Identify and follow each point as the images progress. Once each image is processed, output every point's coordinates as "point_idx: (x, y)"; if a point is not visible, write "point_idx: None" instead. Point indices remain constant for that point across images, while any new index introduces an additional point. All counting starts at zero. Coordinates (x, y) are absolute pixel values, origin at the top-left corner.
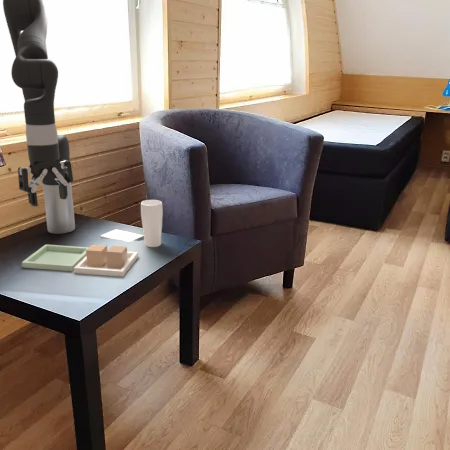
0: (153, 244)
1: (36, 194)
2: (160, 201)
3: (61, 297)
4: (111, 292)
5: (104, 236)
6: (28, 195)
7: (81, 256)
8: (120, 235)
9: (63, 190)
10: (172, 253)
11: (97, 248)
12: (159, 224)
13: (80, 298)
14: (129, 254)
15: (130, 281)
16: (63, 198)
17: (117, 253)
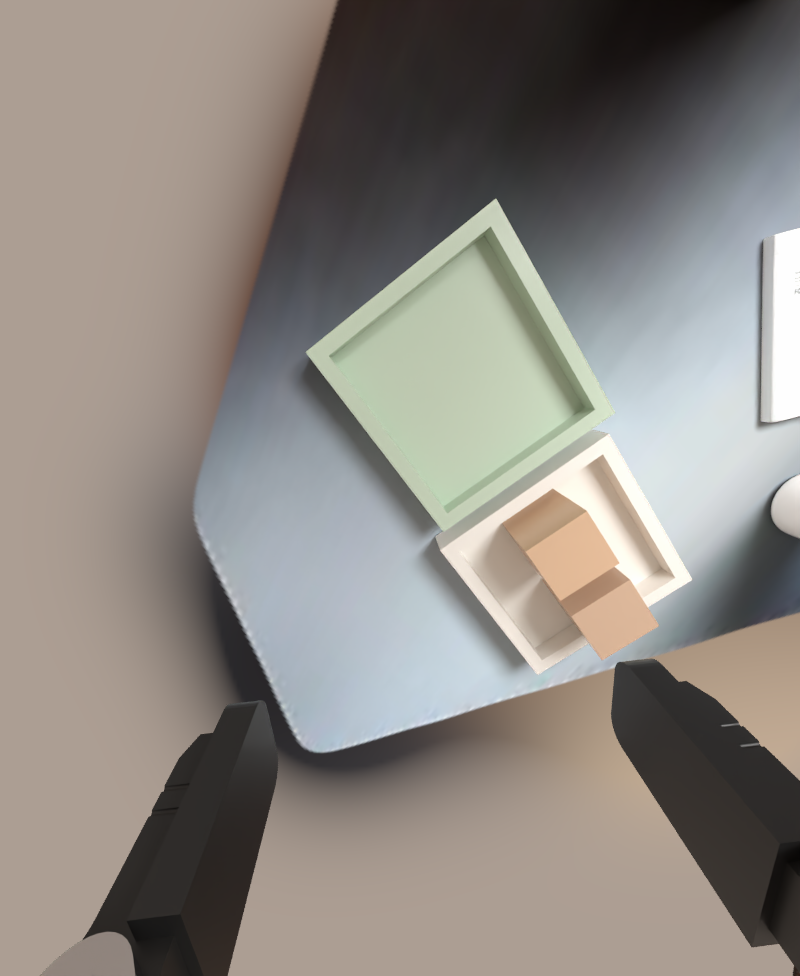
0: (797, 536)
1: (227, 964)
2: None
3: (327, 637)
4: (450, 694)
5: (779, 261)
6: (125, 879)
7: (523, 472)
8: None
9: (697, 857)
10: (780, 595)
11: (570, 566)
12: None
13: (366, 673)
14: (663, 561)
15: (533, 673)
16: (618, 729)
17: (591, 645)
